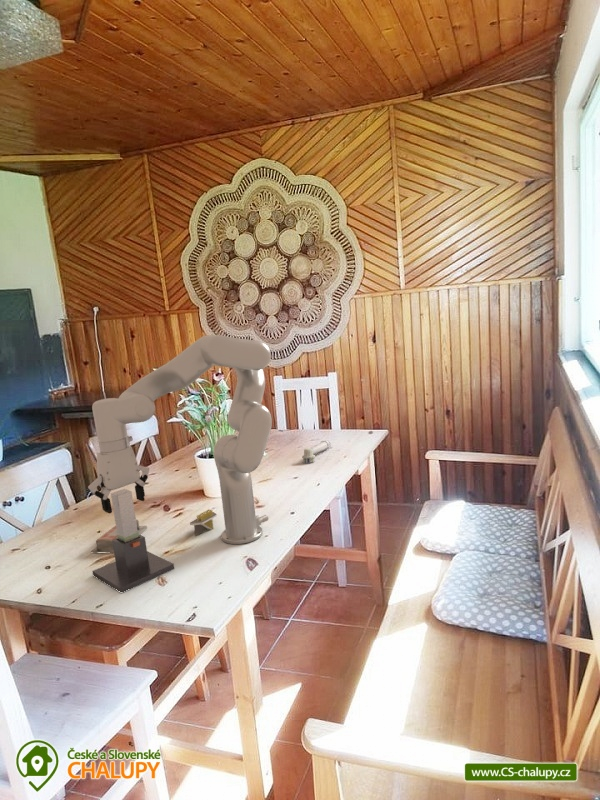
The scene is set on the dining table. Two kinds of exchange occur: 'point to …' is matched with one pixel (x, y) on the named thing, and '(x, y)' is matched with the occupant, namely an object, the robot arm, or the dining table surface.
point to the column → (124, 516)
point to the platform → (203, 522)
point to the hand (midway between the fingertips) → (124, 506)
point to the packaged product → (106, 540)
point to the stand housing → (132, 565)
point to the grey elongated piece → (314, 451)
